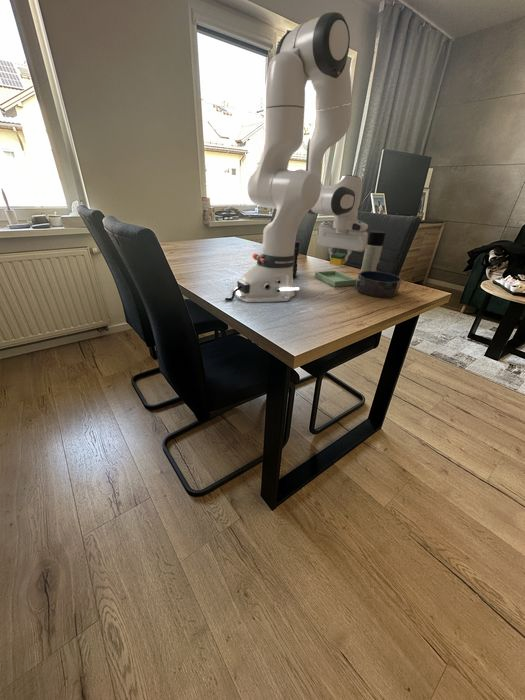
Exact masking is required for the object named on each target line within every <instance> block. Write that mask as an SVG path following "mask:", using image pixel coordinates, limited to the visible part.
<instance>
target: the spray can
mask: <svg viewBox="0 0 525 700" xmlns="http://www.w3.org/2000/svg"><path fill="white" fill-rule="evenodd" d="M386 234H387V233H386V232H385V231H381V230H379V231H378V230H370V231H369V232H368V242H367V248H366V249H365V250H364V254H363V259H362V262H361V263H362V265H361V267H360V272H364V271H377V272H378V269H379V264H380V260H381V256H382V251H383V248H384V247H383V246H384V244H385V243H384V242H385V239H386V238H385V237H386Z"/></svg>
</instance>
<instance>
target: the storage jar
mask: <svg viewBox="0 0 525 700" xmlns="http://www.w3.org/2000/svg"><path fill="white" fill-rule="evenodd" d="M299 251H300V240H298V239H296V241H295V248H294V254H295V262H294V269H293V280H294V279H295V278H297V273H298V257H299V253H300V252H299Z"/></svg>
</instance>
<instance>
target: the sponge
mask: <svg viewBox="0 0 525 700" xmlns="http://www.w3.org/2000/svg"><path fill="white" fill-rule="evenodd" d="M347 254H348V253H345V252H344V253H343V252H335V253H333V254H332V255H331V258H329V259H330V260H329V265H333V266H342V265H344V264H346V263H347V261H343V257H344V256H346V255H347Z"/></svg>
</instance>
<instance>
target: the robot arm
mask: <svg viewBox="0 0 525 700" xmlns="http://www.w3.org/2000/svg"><path fill="white" fill-rule="evenodd" d="M280 38H281V39H280V40H279V42H278V43H277V46H276V49H275V54H274V56H273V57H272V58H271V59H270V60H269V63H268V66H267V71H266V72H267V73H266V79H265V90H264V127H263V128H264V132H263V147H262V152H261V155H260V160H259V162H258V164H257V167H256V169H255V170H254V172H253V173H252V174H251V175H250V177H249V178H248V179H249V180H248V183H247V195H248V198H249V199H250V201H251V203H253V204H255V205H257V206H260V207H262V208H265V209H266V208H267V209H276V210H275V215H274V217H273V220H272V221H271V222H270V223H269V222H268V223H267V225H266V226H265V227H264V228H263V231H262V252H261V253H260V254H258V253H253V254H252V256H251V258H252V259H253V260H255V261H256V264H255V265H253V266H252V267H251V268H250V269H249V270H248V271H246V272H245V273H244V274H242V276H241V279H240V280H236V281H237V287H235V288H234V290H233V291H232V294H231V297H225V298H224V300H225V301H228V302H229V301H233V300H234V299H235V297H236V298H237V299H239V300H240V301H243V302H245V303H271V302H288V301H290V299H291V298H293V297H294V296H295V294H296V293H295V291H299V290H300V287H294V279H293V269H294V262H295V254H294V248H295V241H296V240H297V233H298V229H299V227H300V224H301V222H302V220H303V219H304V217H305V215H306V214H309V215H322V216H323V215H324V216H333V221H332V222H329V221H323V222H321V223H320V224H319V228H318V235H317V240H316V244H317V246H320V247H327V251H328V254H329V259H330V258H331V255H332V254H334V252H333V250H334V249H341V250H346V254H347V255H346V256H344V257H343V261H346V262H348V260H349V256H351V254H352V253H353V251H354V252H360V253H362V252H365V249H366V248H367V242H368V235H369V232H368V231H367V230H368V228H369V224H368V223H366V222H363V221H361V220H359V219H358V218H359V217H358V216H359V214H358V213H359V212H358V211H359V207H360V205H361V199H362V194H363V179H362V178H361V177H360V176H357V175H352V174H345V175H342V176H341V179H340V180H339V181H338V182H337V183H335V184H332V185H328V184H326V185H325V184H323V183H322V172H323V159H324V156H325V154H326V152H327V151H328V150H329V149H330V148H331V147H333V146H334V145H336V144H337V143H338V142H340V141H341V140H342V139H343V138H344V137H345V135H346V134H347V133H348V130H349V129H350V126H351V121H352V99H353V98H352V96H353V95H352V79H351V71H350V64H349V61H348V56H349V52H350V51H349V50H350V45H351V42H350V41H351V35H350V28H349V25H348V23H347V21H346V18H345V17H344V15H343V14H342V13H340V12H336V11H332V12H326V13H324V14H321V16H317V17H314V18H312V19H310V20H304V21H303V22H302V23H300V24H298V25H297V26H296V27H294V28H293V29H291V30H288V31H287V32H286V33H285V34H283V36H282V37H280ZM308 81H310V82H311V84H312V88H313V90H314V93H313V111H314V112H313V113H314V116H313V117H314V118H313V127H312V131H311V133H310V135H309V137H308V140H307V145H306V146H307V147H306V161H305V169H302V168H300V169H299V168H288V167H289V163H290V160H291V157H292V156H293V154H294V153H296V152H298V150H299V149H300V148H301V146H302V145H303V140H304V128H305V127H304V124H305V111H306V110H305V106H306V85H307V83H308Z"/></svg>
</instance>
